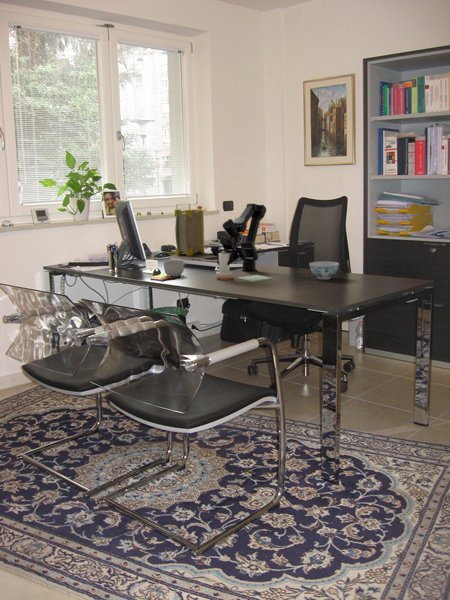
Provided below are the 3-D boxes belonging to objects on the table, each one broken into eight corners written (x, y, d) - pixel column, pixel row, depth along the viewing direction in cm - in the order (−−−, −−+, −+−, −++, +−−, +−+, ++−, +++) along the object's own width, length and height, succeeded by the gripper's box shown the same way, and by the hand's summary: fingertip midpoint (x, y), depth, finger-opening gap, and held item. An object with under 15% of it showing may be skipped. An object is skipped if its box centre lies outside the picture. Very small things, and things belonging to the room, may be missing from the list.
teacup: (181, 277, 367) (180, 262, 365) (161, 277, 369) (160, 262, 367) (187, 273, 380) (187, 259, 379) (168, 273, 382) (168, 258, 381)
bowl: (226, 276, 366) (226, 271, 366) (236, 278, 359) (236, 274, 359) (212, 278, 362) (212, 273, 361) (222, 280, 354) (222, 275, 354)
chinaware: (304, 277, 359) (304, 262, 358) (329, 275, 364) (329, 260, 363) (318, 281, 346) (318, 266, 344) (344, 279, 351) (344, 264, 349)
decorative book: (192, 251, 473) (191, 207, 468) (205, 252, 467) (204, 208, 461) (174, 255, 457) (173, 209, 451) (187, 256, 451) (186, 210, 445)
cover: (226, 272, 366) (226, 249, 363) (235, 274, 359) (235, 251, 356) (213, 273, 361) (212, 251, 359) (222, 275, 354) (221, 252, 352)
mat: (257, 276, 366) (257, 274, 366) (272, 279, 356) (272, 277, 356) (237, 278, 359) (237, 277, 359) (252, 281, 349) (252, 280, 349)
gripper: (211, 230, 363) (201, 254, 356) (243, 231, 355) (233, 255, 347) (219, 244, 372) (209, 267, 364) (250, 245, 363) (240, 269, 356)
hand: (223, 264), depth 358 cm, fingers closed on cover, 6 cm apart
